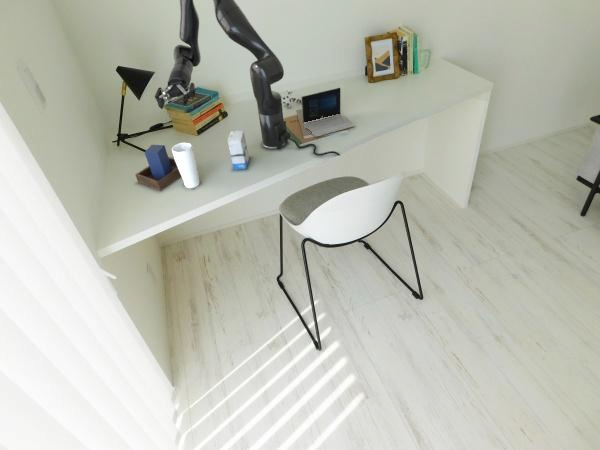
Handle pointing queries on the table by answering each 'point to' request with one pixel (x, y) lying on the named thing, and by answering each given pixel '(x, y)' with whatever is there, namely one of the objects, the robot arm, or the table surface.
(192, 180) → the drinking glass
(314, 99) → the laptop
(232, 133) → the ink box
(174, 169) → the desk tray
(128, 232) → the table surface
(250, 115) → the table surface
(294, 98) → the molecule model
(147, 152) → the carton
